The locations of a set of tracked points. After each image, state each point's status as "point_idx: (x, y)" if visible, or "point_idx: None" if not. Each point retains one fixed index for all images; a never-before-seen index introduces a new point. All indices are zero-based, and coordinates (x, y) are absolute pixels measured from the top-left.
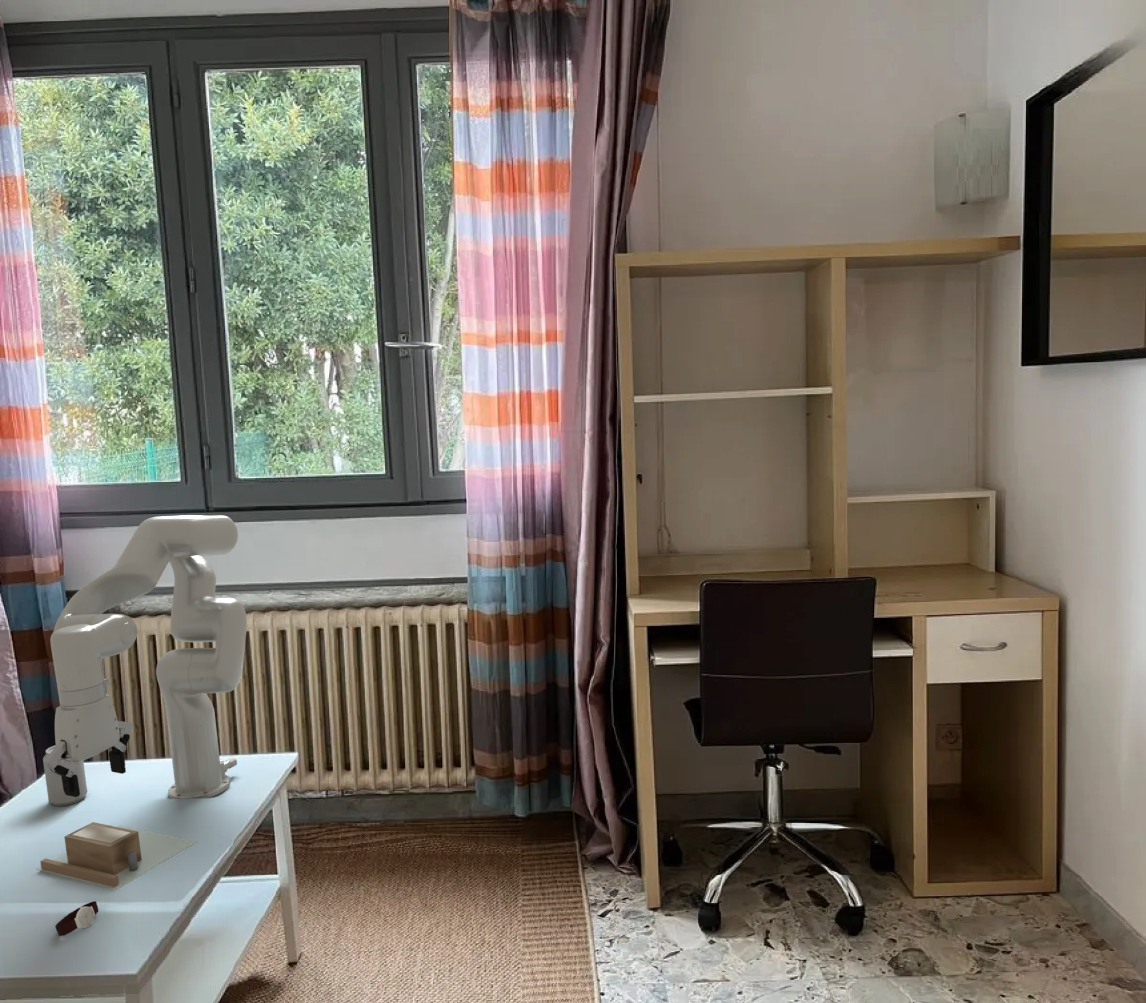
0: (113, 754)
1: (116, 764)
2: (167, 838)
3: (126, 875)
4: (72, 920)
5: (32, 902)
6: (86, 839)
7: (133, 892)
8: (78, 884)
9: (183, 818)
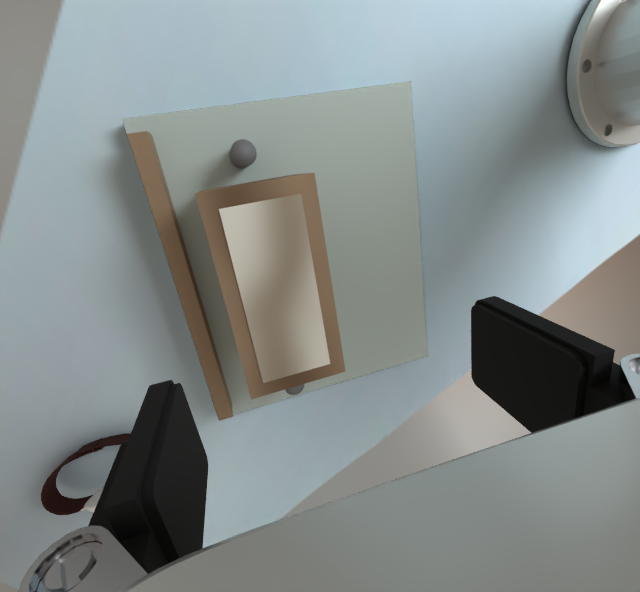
0: (569, 405)
1: (508, 377)
2: (411, 286)
3: None
4: (75, 512)
5: (60, 275)
6: (233, 291)
7: (245, 420)
8: None
9: (503, 185)
